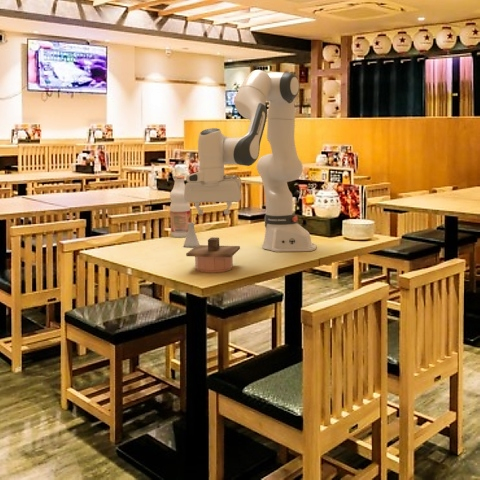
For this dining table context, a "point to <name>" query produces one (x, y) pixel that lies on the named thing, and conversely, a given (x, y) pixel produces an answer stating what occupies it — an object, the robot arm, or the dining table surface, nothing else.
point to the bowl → (213, 264)
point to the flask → (191, 236)
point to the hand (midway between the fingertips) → (213, 214)
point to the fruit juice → (179, 209)
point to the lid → (213, 249)
